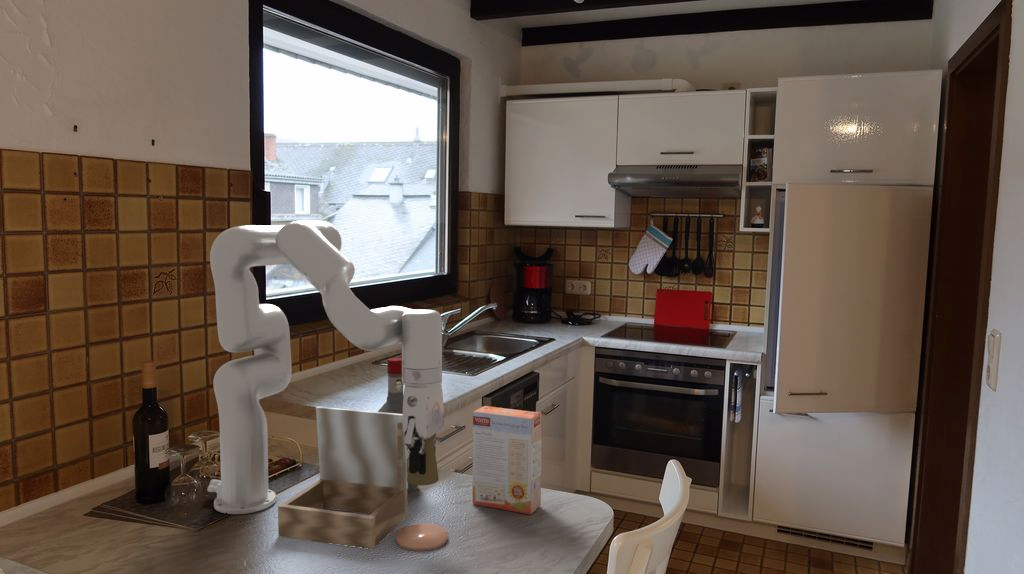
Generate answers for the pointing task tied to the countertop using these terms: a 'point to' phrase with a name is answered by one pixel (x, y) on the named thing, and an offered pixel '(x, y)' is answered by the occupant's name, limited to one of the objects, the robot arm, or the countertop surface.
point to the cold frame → (352, 481)
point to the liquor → (396, 398)
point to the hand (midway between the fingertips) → (422, 468)
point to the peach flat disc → (421, 537)
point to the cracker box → (507, 459)
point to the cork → (431, 465)
